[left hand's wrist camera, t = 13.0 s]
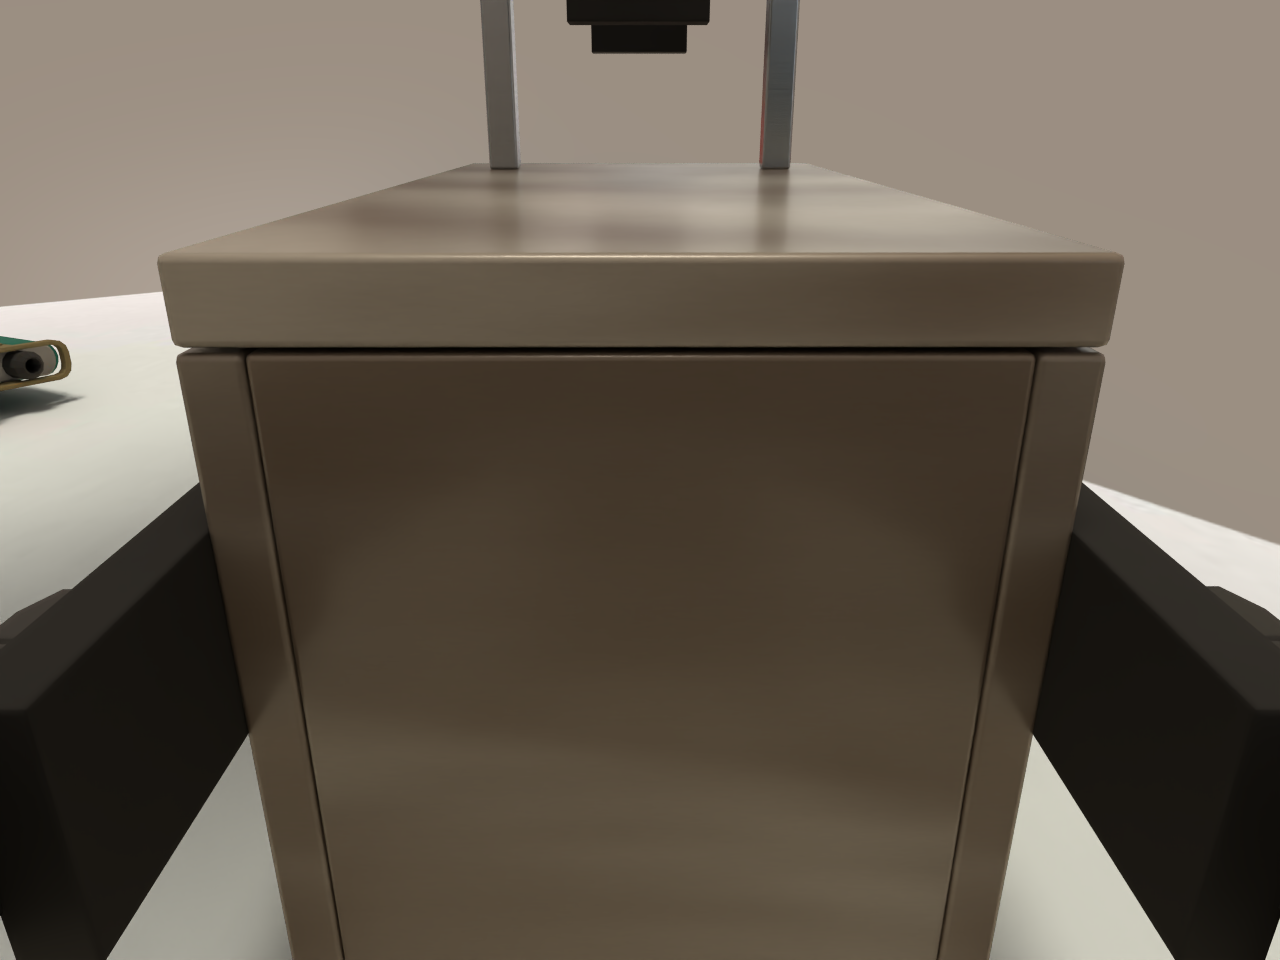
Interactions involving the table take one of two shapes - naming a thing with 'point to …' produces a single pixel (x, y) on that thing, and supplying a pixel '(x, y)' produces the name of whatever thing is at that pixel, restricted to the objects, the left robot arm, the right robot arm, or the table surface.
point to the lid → (640, 254)
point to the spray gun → (31, 362)
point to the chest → (640, 638)
